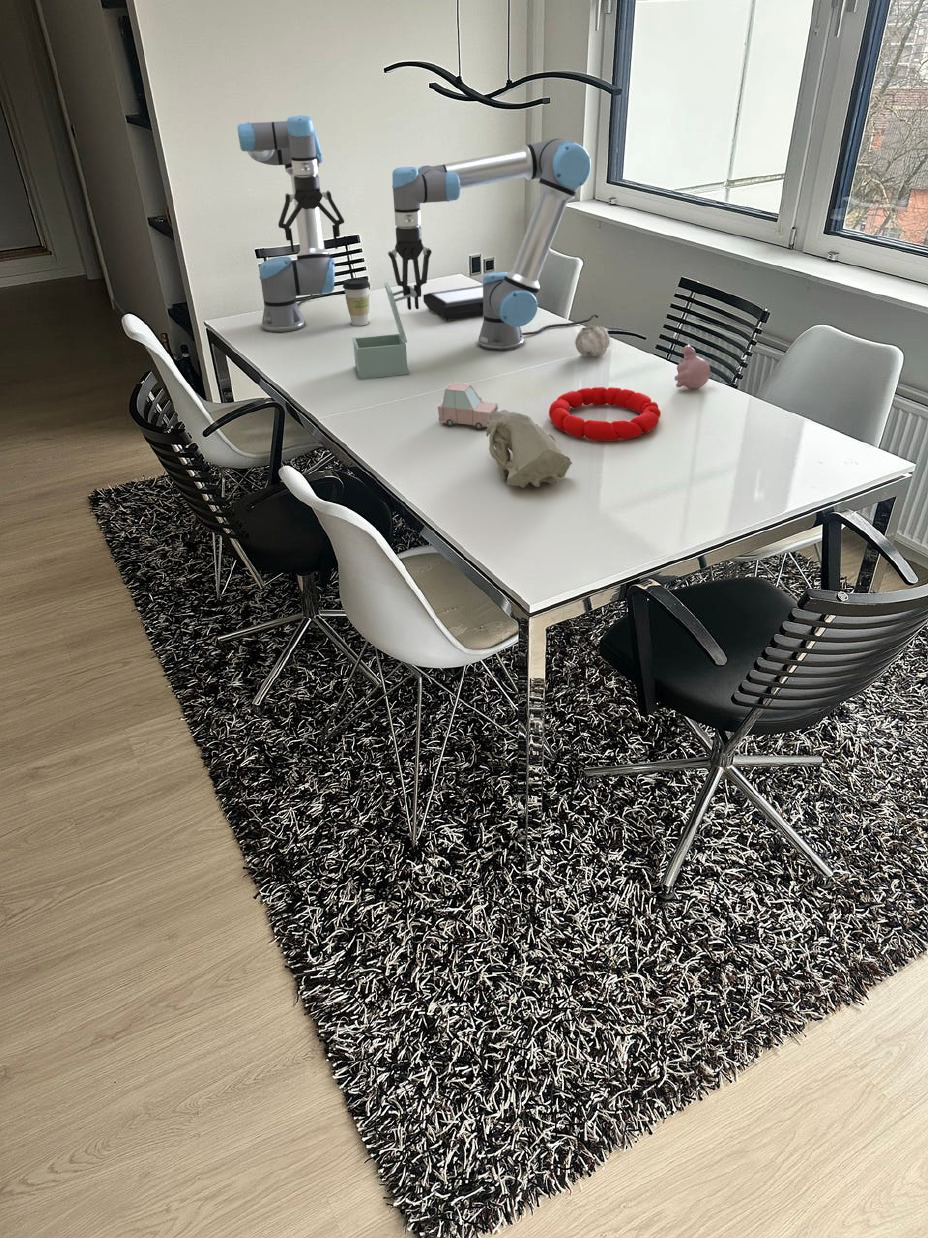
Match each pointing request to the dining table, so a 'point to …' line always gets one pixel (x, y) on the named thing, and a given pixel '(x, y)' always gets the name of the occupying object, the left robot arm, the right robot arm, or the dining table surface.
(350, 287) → the coffee cup
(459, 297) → the electronic device
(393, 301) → the lid
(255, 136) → the left robot arm
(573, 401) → the decorative ring
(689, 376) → the figurine
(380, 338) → the chest
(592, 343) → the seashell
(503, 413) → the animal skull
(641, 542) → the dining table surface
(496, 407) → the toy car
